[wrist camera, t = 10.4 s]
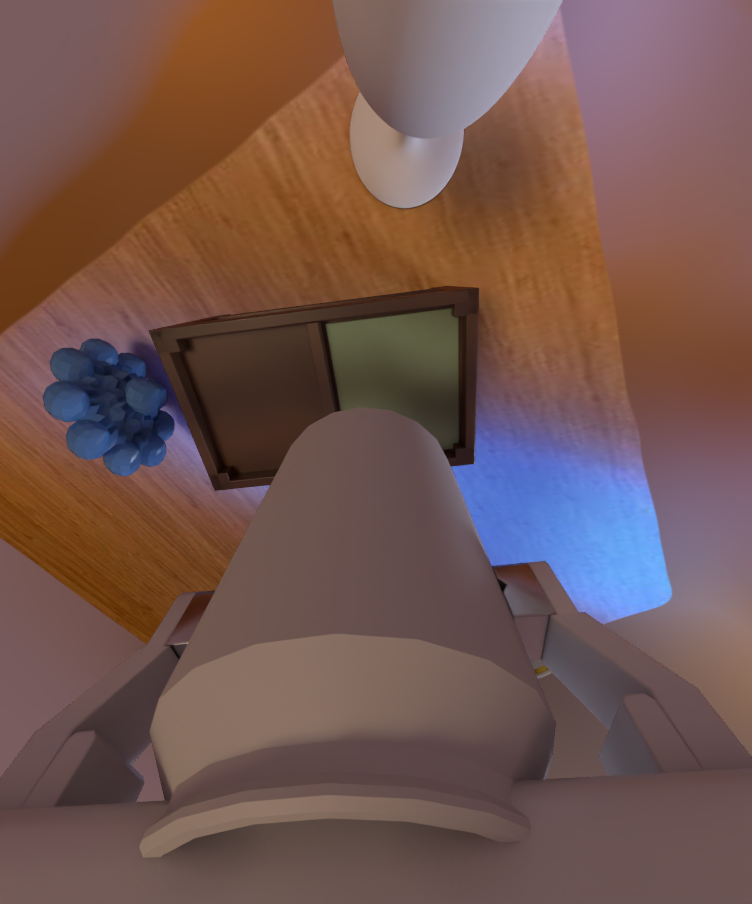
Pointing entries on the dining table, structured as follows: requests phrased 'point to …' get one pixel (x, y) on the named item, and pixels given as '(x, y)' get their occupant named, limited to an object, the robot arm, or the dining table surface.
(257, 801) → the can
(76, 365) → the grapes
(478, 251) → the dining table surface
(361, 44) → the wineglass
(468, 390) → the tray
